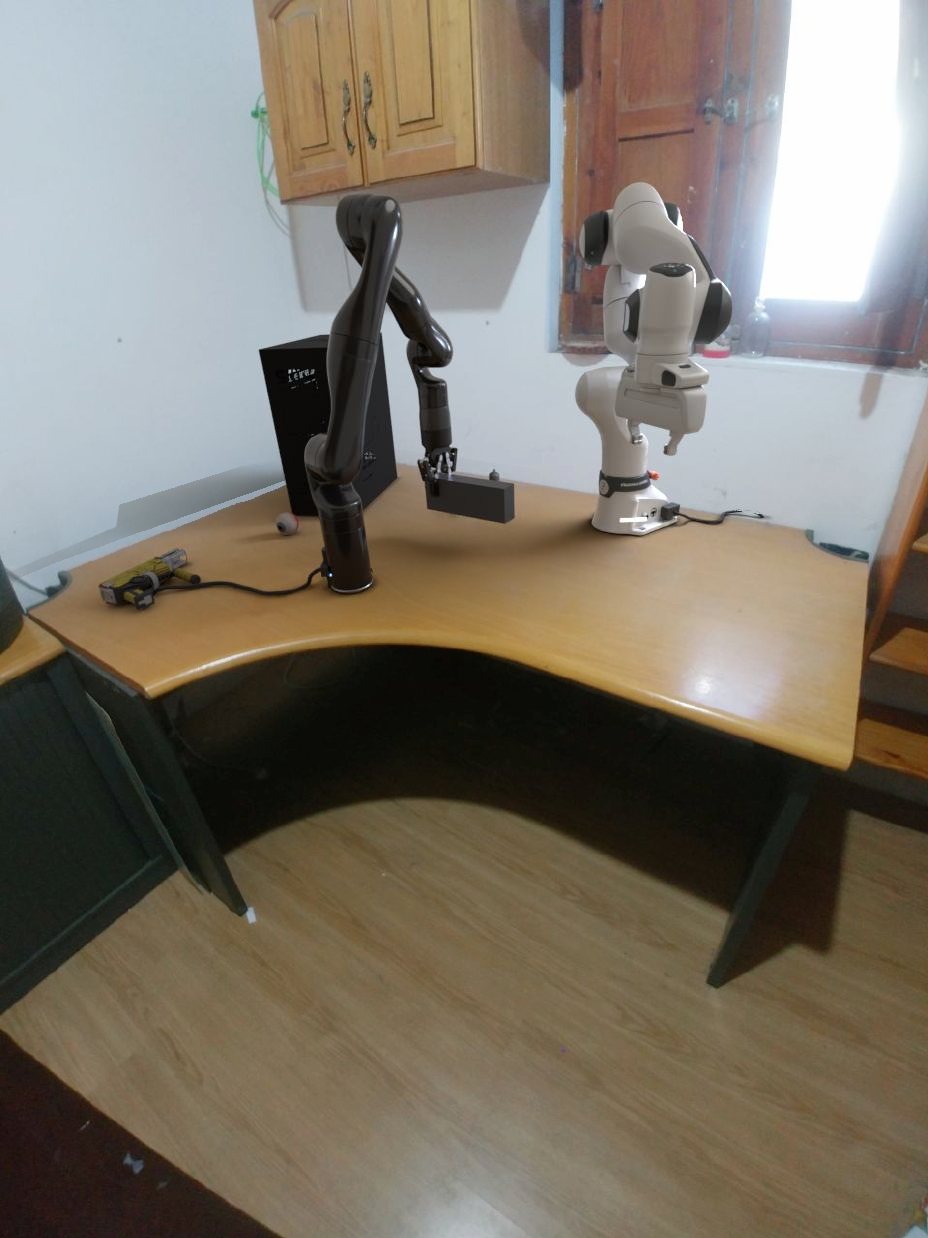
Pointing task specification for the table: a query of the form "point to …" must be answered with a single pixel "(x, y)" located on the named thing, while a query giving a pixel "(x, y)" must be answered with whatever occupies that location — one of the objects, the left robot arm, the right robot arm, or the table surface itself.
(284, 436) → the cardboard box
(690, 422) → the right robot arm
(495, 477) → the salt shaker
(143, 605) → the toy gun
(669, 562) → the table surface
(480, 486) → the bar
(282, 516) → the eyeball
